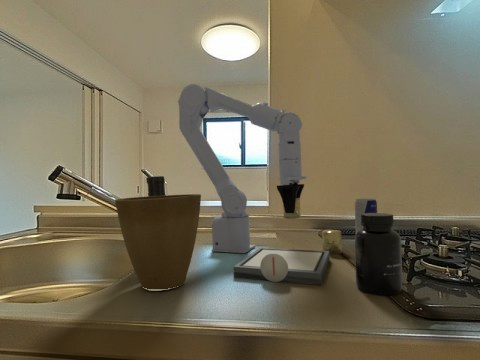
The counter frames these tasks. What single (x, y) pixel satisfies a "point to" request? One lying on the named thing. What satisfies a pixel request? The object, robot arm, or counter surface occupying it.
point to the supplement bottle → (378, 255)
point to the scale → (281, 268)
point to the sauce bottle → (156, 186)
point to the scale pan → (290, 259)
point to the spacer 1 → (296, 213)
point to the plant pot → (160, 236)
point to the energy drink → (363, 210)
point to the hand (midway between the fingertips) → (291, 212)
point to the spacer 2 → (332, 241)
